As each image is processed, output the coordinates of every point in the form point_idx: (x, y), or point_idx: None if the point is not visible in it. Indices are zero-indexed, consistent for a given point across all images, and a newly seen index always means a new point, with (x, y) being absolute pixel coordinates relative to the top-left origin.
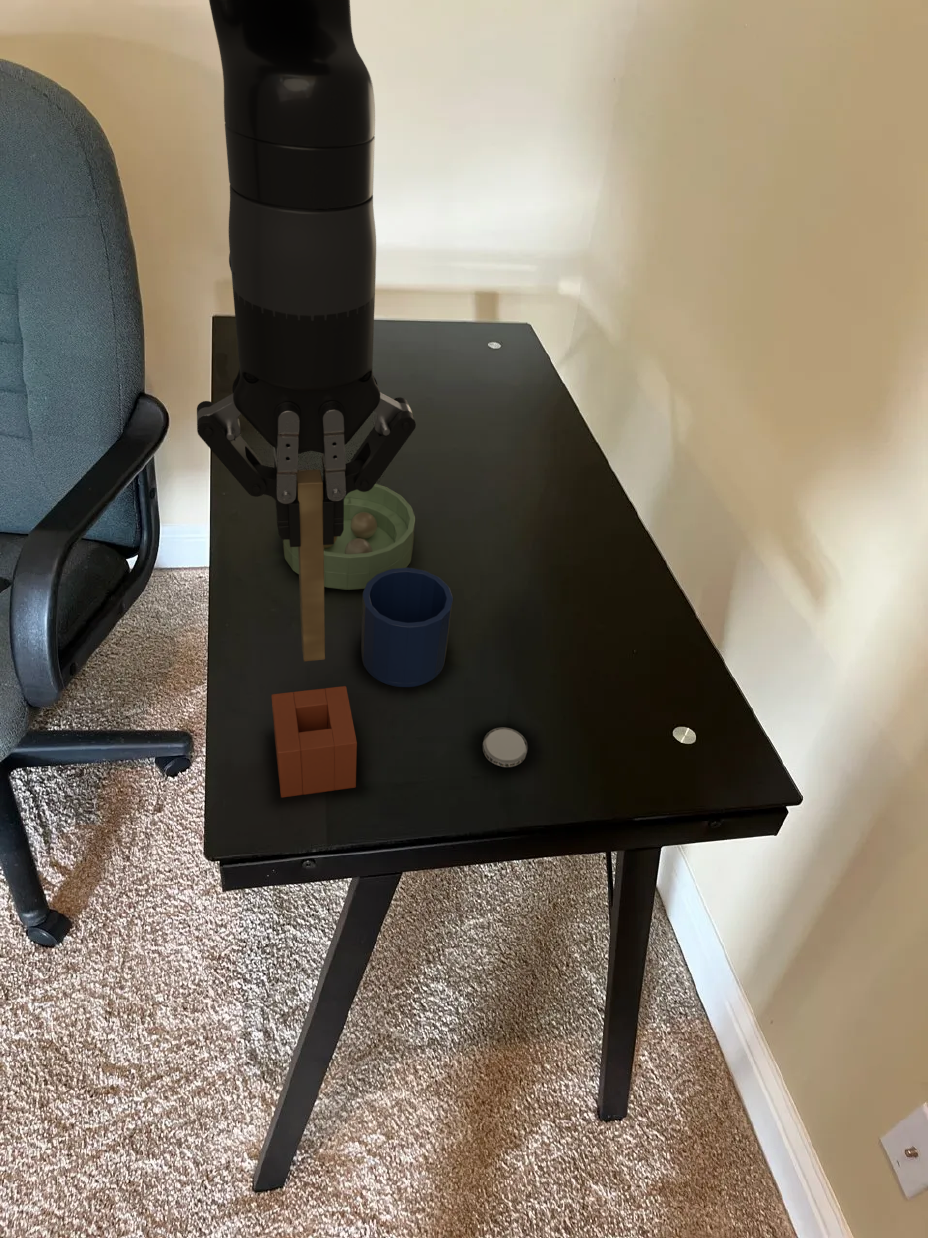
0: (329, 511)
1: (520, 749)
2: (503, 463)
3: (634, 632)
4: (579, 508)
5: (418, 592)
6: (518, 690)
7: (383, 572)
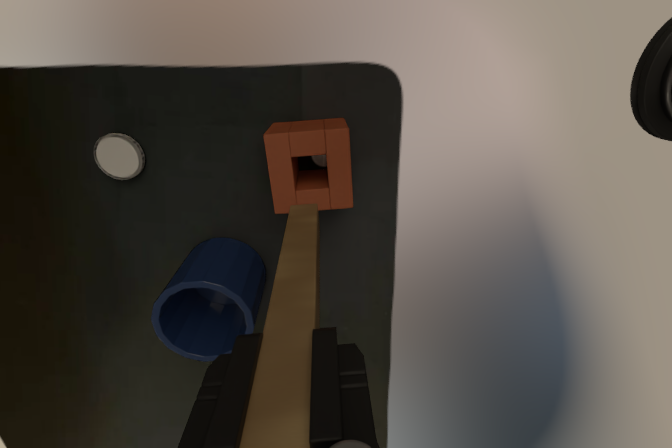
0: (224, 416)
1: (101, 150)
2: None
3: None
4: (50, 440)
5: (199, 334)
6: (109, 228)
7: None
